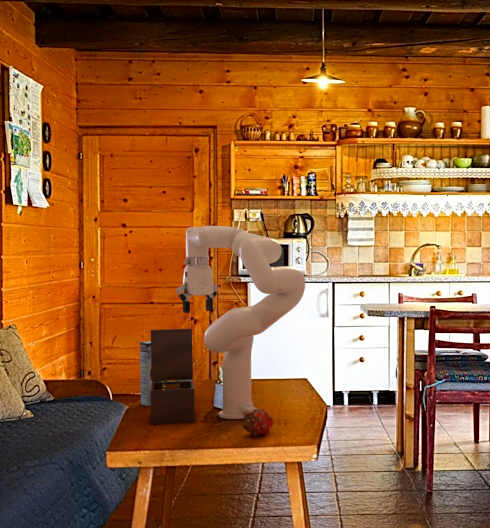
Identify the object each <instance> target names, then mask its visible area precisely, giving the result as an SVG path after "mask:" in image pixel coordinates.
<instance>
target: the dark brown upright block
mask: <svg viewBox="0 0 490 528" xmlns="http://www.w3.org/2000/svg"><path fill="white" fill-rule="evenodd" d="M150 341H151V374H152V381H165V380H193V381H194V366H193V364H194V360H193V359H194V358H193V356H194V355H193V328H167V329H166V328H165V329H164V328H163V329H150Z"/></svg>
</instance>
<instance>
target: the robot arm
mask: <svg viewBox="0 0 490 528" xmlns="http://www.w3.org/2000/svg"><path fill="white" fill-rule="evenodd" d="M282 248H283V247H282V246H281V244H280V243H279V242H278V241H277V240H276V239H274V238H272V237H268V236H263V235H259V234H255V233H251V232H247V231H246V230H244V229H241V228H236V227H233V226H226V225H203V226H190V227H187V228H186V230H185V259H184V260H183V264H185V267H184V271H183V278H182V284H181V285H180V286H179V287H177V288H176V289H175V292H176V294H177V296H178V298H179V299H180V301H181V302H182V312H183V313H184V314H190V313H191V302H190V301H189V300H190V299H191V297H192V296H195V297H197V296H205V298H206V299H205V311H206V312H213V311H214V300H215V298H216V296H217V294H218V292H219V289H220V288H219V286H218V285H216V284H214V278H213V272H212V267H211V266H210V265H209V249H230V250H232V251H233V253H234V255H235V256H237V257H239V258H240V260H241V263H242V264H243V267H244V269H245V270H246V272H247V273H248V275H249V277H250V279H251V281H252V283H253V284H254V286H255V288H256V289H257V290H258V291H259V292H261V293H262V294H265V295H266V296H265V297H263V298H262V299H261V300H259V301H258V302H257V303H255V304H253V305H250V306H242V307H241V306H240V307H234V308H232V309H230V310H228V311H226V312H225V313H224V314H222V315H221V316H220V317H218V319H216V320H215V321H214V322H212V323H211V324H210V325H209V326H208V327H207V329H206V330H205V331H204V336H203V343H204V346H205V348H206V349H207V350H208V351H210V352H211V353H215V354H220V353H221V354H222V353H224V355H223V359H222V363H221V364H222V366H221V368H222V369H221V370H222V375H221V376H222V410H221V411H219V412H218V414H217V415H218V417H219V418H221V419H225V420H242V419H243V420H245V418H244V416H245V415H246V414H249V413H250V412H252V411H254V410H258V407H255V406H254V402H252V401H253V400H252V349H253V344H254V339H255V336H258V335H260V334H262V333H264V332H265V331H267V330H268V329H269V328H270V327H272V326H273V325H274V324H275V323H277V322H278V321H279V320H280V319H282V318H283V317H284V316H286V315H287V314H288V313H290V312H291V311H292V310H293V309H294V308H295V307H297V305H299V303H300V302H301V300H302V298H303V296H304V294H305V290H306V277H305V275H304V273H303V272H302V271H301V270H300V269H299V268H297V267H294V266H289V265H286V266H285V265H283V266H271V265H270V264H273V263H275V262H277V261H278V260H279V259H280V258H281V256H282V253H283V249H282Z"/></svg>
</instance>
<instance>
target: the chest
mask: <svg viewBox="0 0 490 528" xmlns="http://www.w3.org/2000/svg"><path fill="white" fill-rule="evenodd" d="M179 388H180V389H168V390H162V389H163V382H153V383H152V384H151V391H150V392H151V406H150V425H165V424H166V425H167V424H182V423H185V424H186V423H195V422H196V416H195V415H196V412H195V411H196V409H195V386H194V380H193V381H179Z"/></svg>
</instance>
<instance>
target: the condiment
mask: <svg viewBox="0 0 490 528" xmlns="http://www.w3.org/2000/svg"><path fill="white" fill-rule="evenodd" d="M168 389H180V388H179V381H178V380H165V381H163V389H162V390H168Z"/></svg>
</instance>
